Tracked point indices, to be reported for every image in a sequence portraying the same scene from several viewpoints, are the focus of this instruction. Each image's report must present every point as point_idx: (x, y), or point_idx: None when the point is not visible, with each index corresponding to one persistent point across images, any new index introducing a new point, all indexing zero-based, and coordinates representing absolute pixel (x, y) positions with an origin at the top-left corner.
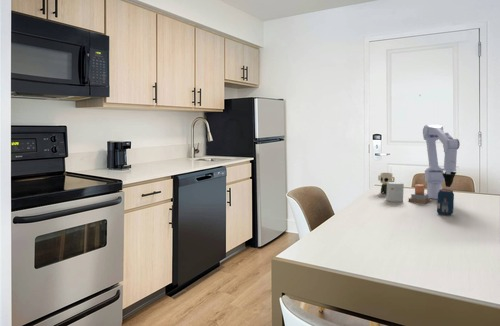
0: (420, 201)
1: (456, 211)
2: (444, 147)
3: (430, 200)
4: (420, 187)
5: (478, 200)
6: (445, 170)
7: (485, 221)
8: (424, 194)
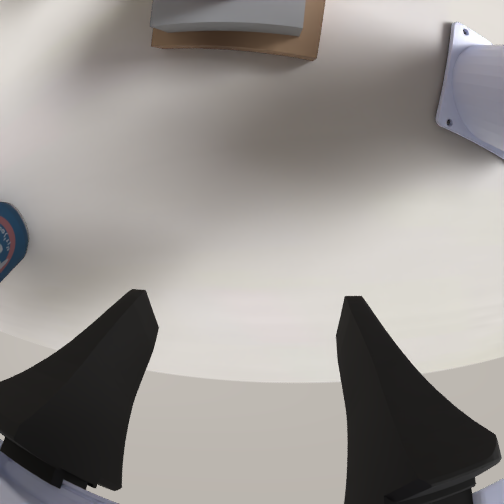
0: None
1: (89, 262)
2: None
3: (310, 59)
4: None
5: (458, 328)
6: (3, 496)
7: (49, 333)
8: (229, 1)
